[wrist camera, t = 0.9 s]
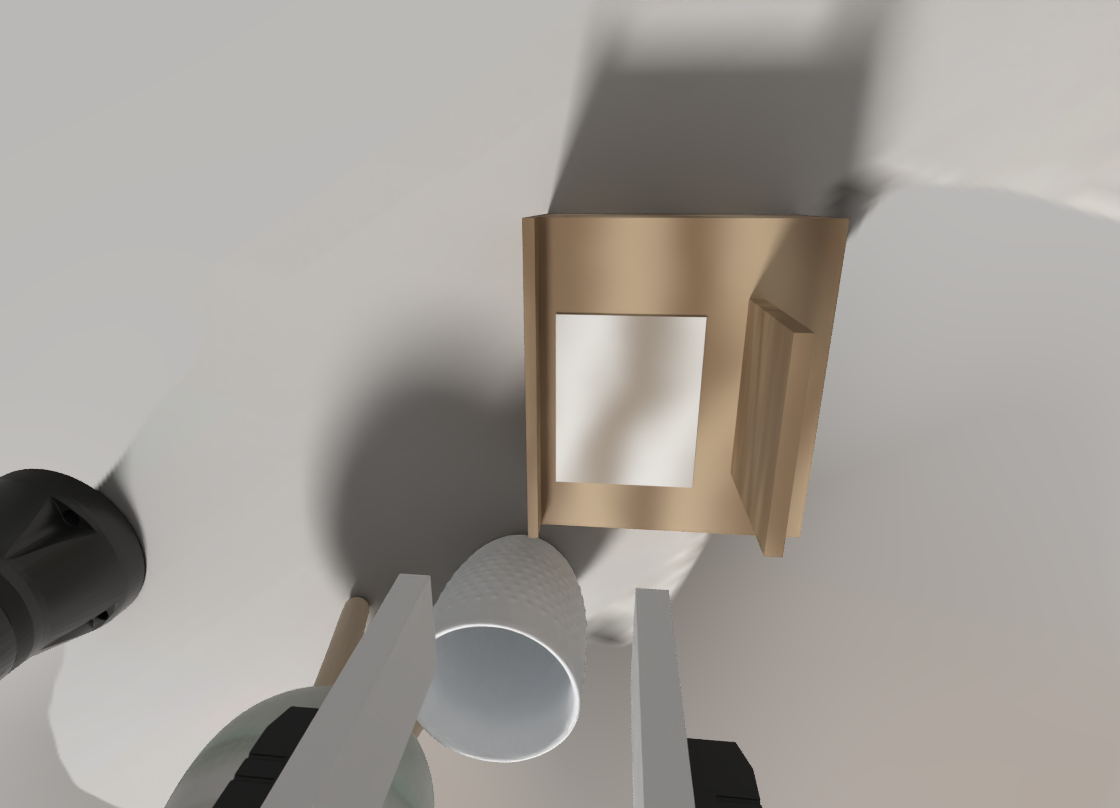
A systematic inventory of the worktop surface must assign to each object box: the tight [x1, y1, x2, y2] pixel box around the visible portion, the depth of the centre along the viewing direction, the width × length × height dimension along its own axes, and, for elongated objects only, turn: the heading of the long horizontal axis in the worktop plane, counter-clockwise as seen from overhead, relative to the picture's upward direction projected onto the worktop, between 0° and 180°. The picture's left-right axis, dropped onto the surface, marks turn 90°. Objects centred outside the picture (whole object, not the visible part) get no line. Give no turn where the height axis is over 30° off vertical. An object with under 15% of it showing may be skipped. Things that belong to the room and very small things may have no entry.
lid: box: [522, 217, 850, 557], centre depth 29 cm, size 16×18×9 cm
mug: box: [417, 535, 587, 762], centre depth 42 cm, size 15×11×13 cm
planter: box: [165, 597, 434, 808], centre depth 41 cm, size 16×16×22 cm
